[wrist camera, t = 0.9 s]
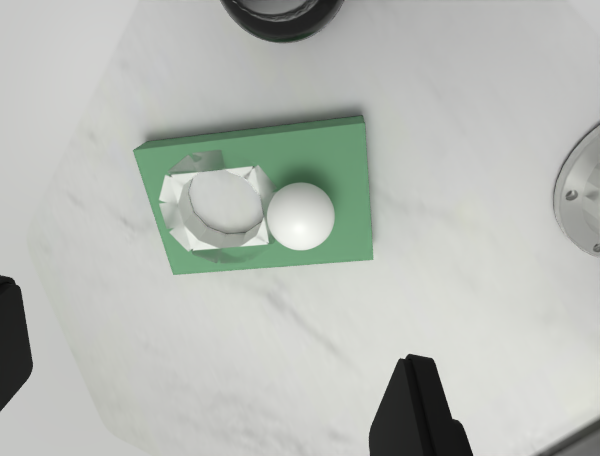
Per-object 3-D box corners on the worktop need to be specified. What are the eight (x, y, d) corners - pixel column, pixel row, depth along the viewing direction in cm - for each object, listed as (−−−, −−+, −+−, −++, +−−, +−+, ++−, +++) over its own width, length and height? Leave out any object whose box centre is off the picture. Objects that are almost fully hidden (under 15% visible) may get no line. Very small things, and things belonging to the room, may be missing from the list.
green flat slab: (362, 115, 30) (364, 122, 28) (370, 244, 35) (373, 259, 33) (146, 141, 32) (132, 150, 30) (182, 259, 37) (173, 274, 35)
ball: (331, 169, 29) (331, 194, 25) (337, 228, 32) (338, 260, 27) (267, 176, 30) (255, 201, 26) (277, 233, 32) (268, 265, 28)
